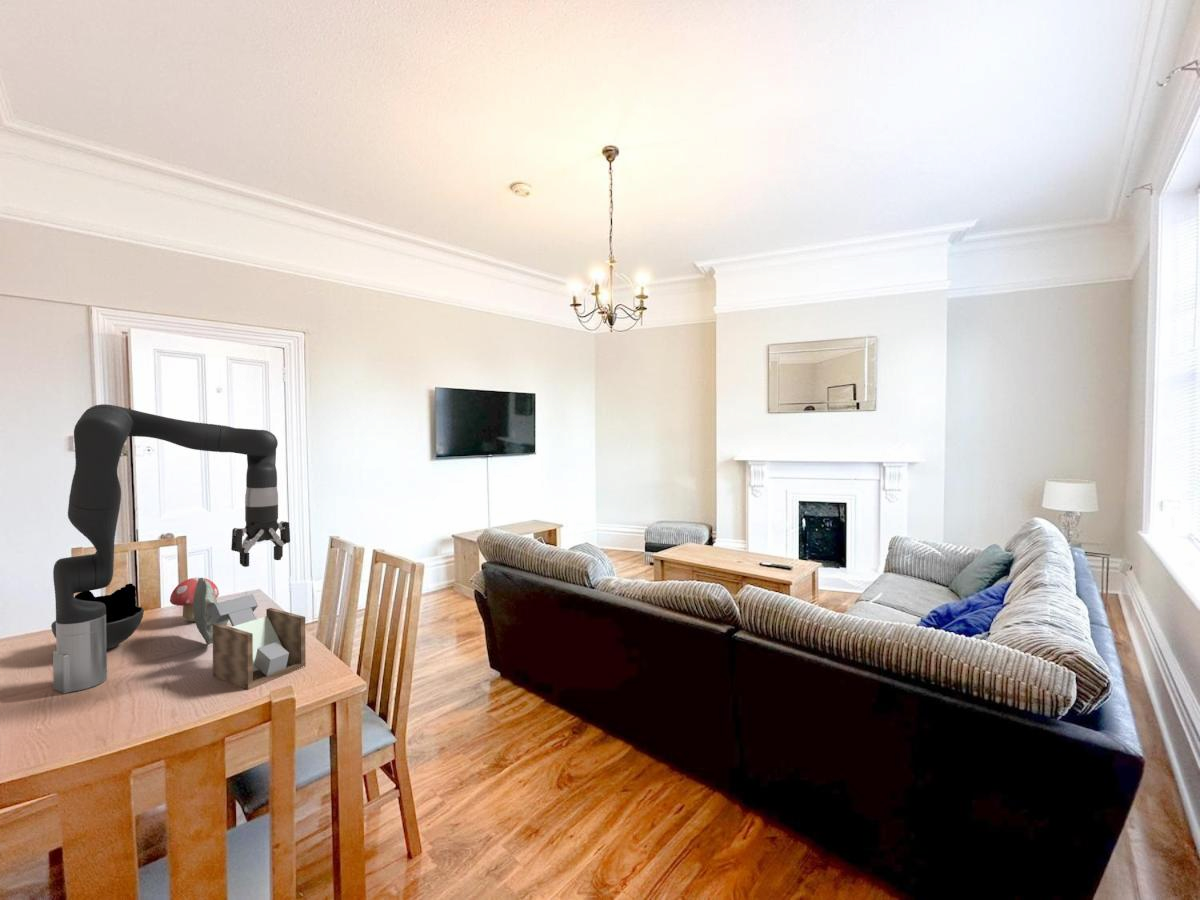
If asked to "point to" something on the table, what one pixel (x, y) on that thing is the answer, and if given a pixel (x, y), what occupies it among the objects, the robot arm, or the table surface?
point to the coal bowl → (116, 613)
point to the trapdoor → (246, 621)
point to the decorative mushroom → (188, 596)
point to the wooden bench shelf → (238, 649)
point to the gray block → (271, 658)
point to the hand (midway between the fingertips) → (261, 562)
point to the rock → (204, 609)
